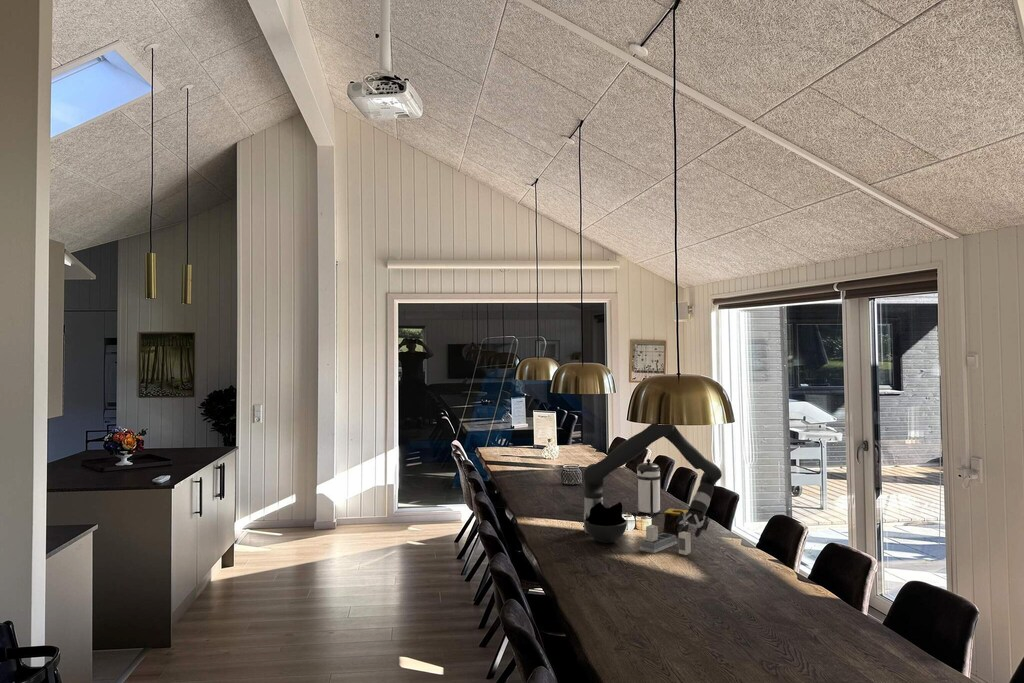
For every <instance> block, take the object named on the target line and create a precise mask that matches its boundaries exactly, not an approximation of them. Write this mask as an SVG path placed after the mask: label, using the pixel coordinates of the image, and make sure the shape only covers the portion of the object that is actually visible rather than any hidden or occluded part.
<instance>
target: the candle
mask: <svg viewBox="0 0 1024 683" xmlns="http://www.w3.org/2000/svg"><path fill="white" fill-rule="evenodd" d="M688 510H689V509H688ZM688 510H687V509H680V508H679V509H676V508H670V507H669V508H668V509H667V510H665V511H664V512H663V515H664V516H663V517H664V521H663V533H666V534H675V533H676V534H677V535H679V533H678V531H677V529H678V526H679V525H678V523H677V522H676V520H677V518H678V516H679V514H680V512H681V511H683V513H687V512H688ZM685 517H686V516H685ZM683 519H684V518H683ZM686 522H687V520H686ZM689 524H690V523H689ZM689 524H688V525H685V526H683V529H682V532H683V531H684V532H688V531H689ZM676 534H675V535H676Z"/></svg>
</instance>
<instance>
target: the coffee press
mask: <svg viewBox="0 0 1024 683" xmlns="http://www.w3.org/2000/svg"><path fill="white" fill-rule="evenodd" d="M636 471H637V472H636V473H637V475H636V478H637V480H636V482H637V483H636V484H637V485H636V486H637V488H636V491H637V494H636V496H637V497H636V498H637V502H636V504H637V505H636V506H637V508H636V509H635V511H634V512H635V514H636V515H638V514H639V513H646V514H650V517H651V516H652V517H654V513H660V514H663V510H662V509H661V497H662V476H661V472H660V471H661V468H660V465H658V464H657V463H654V462H651V459H650V458H647V459H646V462H641V463H639V464H638V465H637V467H636Z"/></svg>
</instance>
